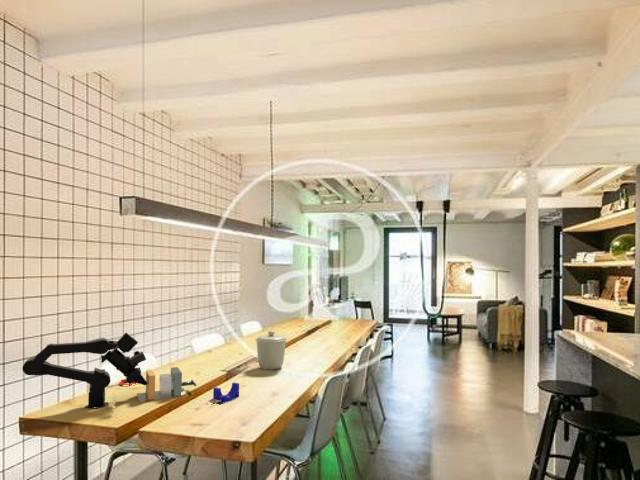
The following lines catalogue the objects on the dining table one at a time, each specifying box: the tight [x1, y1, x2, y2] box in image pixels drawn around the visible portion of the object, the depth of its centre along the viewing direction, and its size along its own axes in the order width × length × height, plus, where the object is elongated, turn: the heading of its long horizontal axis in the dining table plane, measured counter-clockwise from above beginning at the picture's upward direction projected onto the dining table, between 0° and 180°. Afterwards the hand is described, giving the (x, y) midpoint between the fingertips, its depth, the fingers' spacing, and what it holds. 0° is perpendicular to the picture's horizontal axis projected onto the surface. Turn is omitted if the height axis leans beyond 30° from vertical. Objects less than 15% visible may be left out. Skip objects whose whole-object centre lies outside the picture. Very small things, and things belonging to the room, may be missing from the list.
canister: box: [255, 330, 288, 371], centre depth 254 cm, size 18×18×21 cm
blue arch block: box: [212, 381, 240, 404], centre depth 194 cm, size 12×4×6 cm, turn 143°
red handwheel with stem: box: [119, 355, 137, 386], centre depth 218 cm, size 8×13×9 cm
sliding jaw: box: [145, 369, 156, 401], centre depth 193 cm, size 2×12×10 cm, turn 27°
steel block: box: [158, 373, 171, 397], centre depth 196 cm, size 4×7×8 cm, turn 27°
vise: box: [136, 366, 197, 402], centre depth 196 cm, size 24×13×12 cm, turn 117°
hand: (146, 384), depth 193 cm, fingers closed, pressing on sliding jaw
